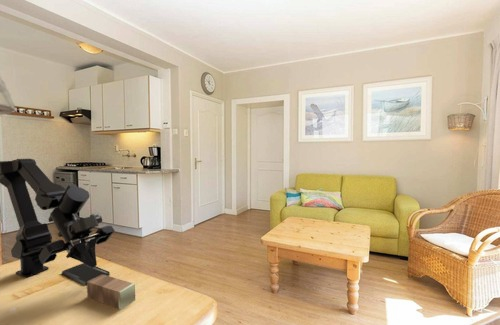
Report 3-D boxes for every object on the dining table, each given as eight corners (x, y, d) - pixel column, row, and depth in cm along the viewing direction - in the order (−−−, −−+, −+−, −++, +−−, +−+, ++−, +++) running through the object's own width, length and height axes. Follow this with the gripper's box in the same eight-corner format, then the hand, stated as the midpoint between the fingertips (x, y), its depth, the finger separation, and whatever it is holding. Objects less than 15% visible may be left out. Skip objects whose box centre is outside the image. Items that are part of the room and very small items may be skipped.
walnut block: (86, 281, 70) (120, 292, 65) (102, 274, 74) (134, 283, 69) (87, 297, 70) (120, 309, 65) (102, 289, 74) (135, 299, 69)
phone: (85, 262, 90) (111, 272, 83) (85, 265, 90) (111, 275, 83) (60, 271, 83) (85, 283, 76) (60, 275, 83) (85, 287, 76)
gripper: (43, 213, 64) (72, 263, 61) (109, 200, 81) (136, 238, 78) (27, 239, 68) (53, 288, 64) (94, 221, 85) (118, 259, 81)
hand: (94, 266), depth 72 cm, fingers closed
